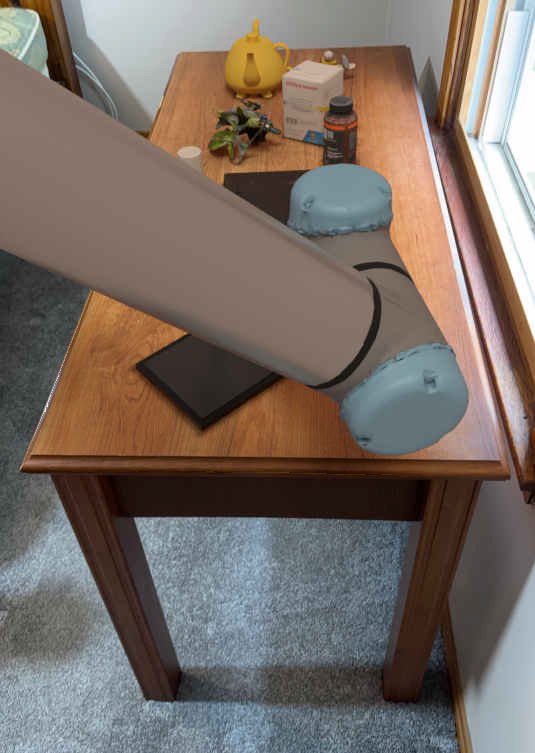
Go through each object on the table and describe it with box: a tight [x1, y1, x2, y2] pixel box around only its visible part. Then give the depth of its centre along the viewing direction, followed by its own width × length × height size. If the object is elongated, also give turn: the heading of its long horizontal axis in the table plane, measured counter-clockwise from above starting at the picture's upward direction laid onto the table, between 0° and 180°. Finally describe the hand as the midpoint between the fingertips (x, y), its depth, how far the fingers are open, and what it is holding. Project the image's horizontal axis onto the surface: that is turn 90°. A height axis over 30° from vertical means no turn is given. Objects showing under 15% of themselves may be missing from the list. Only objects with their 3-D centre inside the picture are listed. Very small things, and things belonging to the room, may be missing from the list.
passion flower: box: [207, 98, 282, 165], centre depth 117 cm, size 11×11×12 cm
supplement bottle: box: [322, 95, 359, 166], centre depth 112 cm, size 6×6×11 cm
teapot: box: [223, 18, 294, 99], centre depth 135 cm, size 20×15×12 cm
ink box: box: [281, 60, 345, 146], centre depth 120 cm, size 9×8×12 cm
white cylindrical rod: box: [176, 145, 205, 175], centre depth 75 cm, size 3×3×16 cm
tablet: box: [134, 333, 286, 432], centre depth 81 cm, size 20×14×1 cm
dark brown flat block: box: [222, 169, 311, 218], centre depth 105 cm, size 16×23×2 cm
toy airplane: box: [307, 50, 357, 73], centre depth 138 cm, size 9×9×6 cm
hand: (176, 184), depth 77 cm, fingers closed on white cylindrical rod, 3 cm apart
